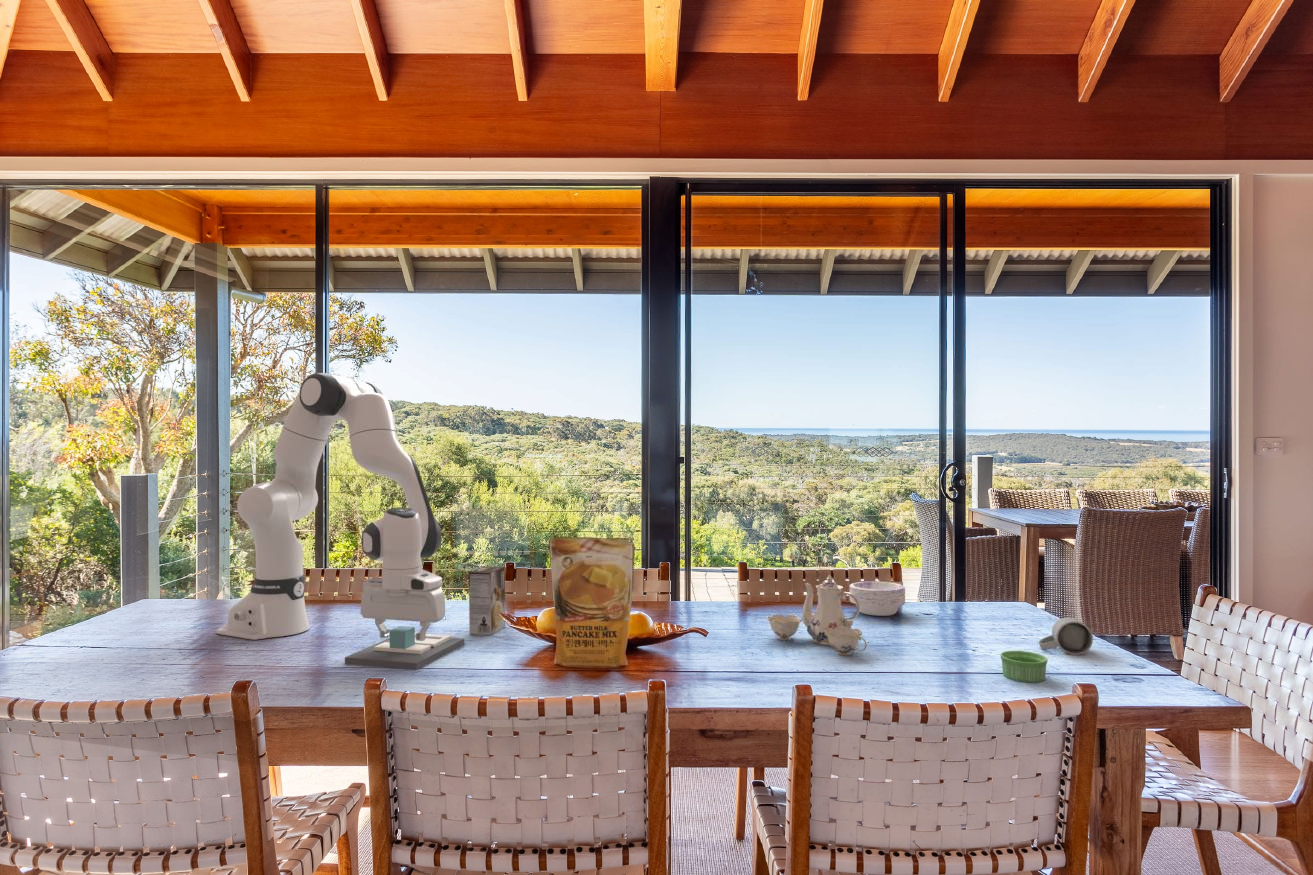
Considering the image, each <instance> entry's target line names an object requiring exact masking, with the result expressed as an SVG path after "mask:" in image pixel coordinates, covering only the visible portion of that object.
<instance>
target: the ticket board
mask: <svg viewBox="0 0 1313 875" xmlns="http://www.w3.org/2000/svg"><path fill="white" fill-rule="evenodd" d="M416 633H417V632H415V644H418V645H431V649H430V650H428V651H426V652H424V653H422V654H413V653H400V652H388V651H375V650H374V647H375V646H377V645H379V644H382V643H384V642H390V637H388V638H385V639H384V640H382V641H379V642H377V643H375V644H372V645H370V646H368V647H366V648H363V649H361V650H359V651H355V652H354V653H352V654H350V655H346V656H345V657H344V664H345V665H351V666H352V665H354V666H361V667H362V666H363V667H364V666H365V667H375V668H376V667H377V668H387V669H388V668H389V669H398V668H400V669H401V670H412V671H418V670H420V669H422V668H424V667H425V666H427V665H429V664H431V663H433V662H435V661H437V660H439V659H441V658H443V657H444V656H446V655H448V654H450V653H452V652H454V651H455V650H457V649H460V648H461V647H464V646H466V645H465V642H466V641H465V638H461V637H459V638H458V637H452V635H449V634H447V635H446V634H435V633H434V634H433V633H426V639H425V640H424V641H416ZM453 650H454V651H453Z"/></svg>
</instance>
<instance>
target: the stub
mask: <svg viewBox="0 0 1313 875" xmlns="http://www.w3.org/2000/svg"><path fill="white" fill-rule="evenodd" d="M415 633H416V628H415V627H413V626H403V625H402V626H396V627H394V628H393V629H390V632H389V634H390V635H389V638H390V642H384V643H382V644H379V645H377V646H375V647H374V650H375V651H388V652H400V653H413V654H422V653H424V652H426V651H428V650H430V649H431V645H418V644H415Z"/></svg>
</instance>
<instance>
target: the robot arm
mask: <svg viewBox="0 0 1313 875" xmlns="http://www.w3.org/2000/svg"><path fill="white" fill-rule="evenodd" d="M391 407H392V406H391V405H390V402H389V399H388V398H387V397H386V396H385V395H384V394H383V392H382V391H381V390H380V389H379V388H378V387H377V386H375V385H374V384H371V383H369V382H364V381H363V380H359V379H357V378H354V377H349V376H342V375H341V376H340V375H335V374H330V373H327V372H316V373H311V374H310V375H308V376H307V377H305V379H304V380H303V382H302V383H301V385H300V387H299V395H298V396H297V397H296V400H295V401H294V403H293V404H292V406H291V408H290V410H289V412H288V414H287V415H286V419H285V420H284V423H283V426H282V428H281V431H280V433H279V436H278V439H277V442H276V444H275V447H274V450H273V453H272V454H273V458H274V459H273V460H275V464H276V466H275V476H274V478H273V479H272V481H267V482H260V483H257V484H255V485H252V486H250V487H247V488H246V489H245V490H244V491H242V493H241V494H240V495H239V497H238V499H237V504H236V507H237V508H236V509H237V512H238V516H239V517H240V518H241V520H243V522H244V523H246V524H247V526H248V528H249V530H250V533H251V536H252V540H253V543H254V548H255V564H256V565H255V575H256V576H255V578H253V579H252V580H248V581H246V583H247V584H246V586H247V587H248V586H251V588H250V591H249V593H248V594H246V595H245V596H244V597H243V598H241V599H240V600H239V601H238V602H237V603H235V604H234V605H232V607H230V609H229V612H228V614H227V624H226V625H223V626H221V627H219V628H218V629H217V630H216V634H218V635H223V636H228V637H236V638H241V639H247V640H255V641H256V640H262V639H268V638H278V637H284V636H287V637H288V636H291V635H296V634H300V633H303V632H306V631H308V630H310V629H311V625H310V621H309V618H308V614H307V608H306V603H305V602H306V601H305V590H306V575H305V574H304V545H303V543H302V542H301V541H300V540H299V539H298V537H297V535H296V533H295V528H294V524H293V521H299V520H301V519H303V518H305V517H306V516H309V515H310V514H311V513H313V511H314V510H315V509H316V507H317V506H318V503H319V496H318V492H317V488H316V482H317V481H316V478H317V472H318V468H319V463H320V461H321V459H322V455H323V452H324V449H325V447H326V444H327V441H328V438H329V436H330V433H331V430H332V427H333V425H334V424H335V423H336V422H337V421H346V423H347V425H348V435H349V445H350V450H351V454H352V457H353V460H354V461H355V463H357V465H358V466H360V467H361V468H362V469H364V470H366V471H367V472H370V473H372V474H376V475H379V476H381V477H385V478H388V479H389V480H392V481H394V482H395V483H397V484H398V485H399V486H400V487H401V488H402V490H403V492H404V495H405V499H406V502H407V505H408V507H403V506H402V507H400V506H399V507H392V508H388V509H386V510H385V511H384V512H383V516H382V517H381V518H380V519H377V520H375V521H373V522H372V521H371V522H369V523H367V526H366V527H365V528H364V530H363V531H362V532H361V549H362V552H363V554H364V555H365V556H367V557H368V559H370V560H371V561H378V562H382V564H381V565H382V566H381V577H371V576H370V577H368V578H366V579H365V580H364V581H363V583H362V595H361V601H360V615H361V616H362V618H364V619H374V624H375V626H376V628H377V630H378V631H379V638H380V639H388V638H390V630H391V629H389V628H387V627H386V624H385V622H386V621H388V620H391V621H403V622H405V621H407V622H419V627H421V628H420V631H419V632H415V633H416V641H424V640H425V639H426V634H427V631H428V629H429V628H430V626H431V623H433V624H435V623H437V622H440V621H442V620H443V619H444V618H445V616H446V602H445V594H444V590H443V589H442V587H441V586H443V578H442V577H441V576H439V575H437V574H434V573H432V572H430V571H428V570H426V569H423V562H422V559H429V558H431V557H432V556H433V555H434V554H435V553H436V552H437V551H438V549H440V547H441V544H442V541H443V536H442V535H443V534H442V530H441V528H440V524H439V523H438V520H437V518H436V517H435V515H434V513H433V509H432V506H431V504H430V503H431V502H430V501H429V497H428V494H427V490H426V488H425V485H424V482H423V478H422V476H421V473H420V470H419V467H418V465H417V462H416V460H415V459H414V457H413V456H412V455H410V454H408V453H407V452H406V450H405V449H404V448H403V446H402V445H401V443H400V440H399V437H398V432H397V425H396V421H395V416H394V413H393V411H392V408H391Z"/></svg>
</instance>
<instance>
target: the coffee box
mask: <svg viewBox="0 0 1313 875" xmlns="http://www.w3.org/2000/svg"><path fill="white" fill-rule="evenodd" d="M505 568H506V567H505V566H493V565H492V566H488V565H486V566H481V567H479V568H476V569H473V570H471V571H469V572H468V604H469V606H468V610H469V611H468V614H469V620H468V621H469V624H468V625H469V634H470V635H477V634H479V635H481V636H492V635H494V634H495V633H497V632H499V631H501V630H503V629H504V628H506V620H505V621H504V620H503V618H502V617H501V616H500V615H499V614H500V613H504V614H505V615H506V569H505ZM479 635H478V636H479Z"/></svg>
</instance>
